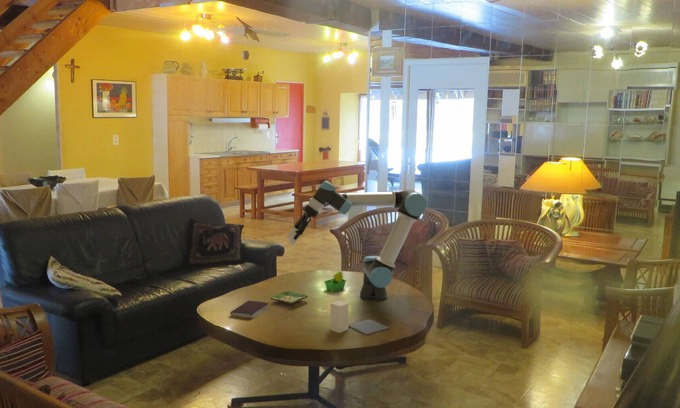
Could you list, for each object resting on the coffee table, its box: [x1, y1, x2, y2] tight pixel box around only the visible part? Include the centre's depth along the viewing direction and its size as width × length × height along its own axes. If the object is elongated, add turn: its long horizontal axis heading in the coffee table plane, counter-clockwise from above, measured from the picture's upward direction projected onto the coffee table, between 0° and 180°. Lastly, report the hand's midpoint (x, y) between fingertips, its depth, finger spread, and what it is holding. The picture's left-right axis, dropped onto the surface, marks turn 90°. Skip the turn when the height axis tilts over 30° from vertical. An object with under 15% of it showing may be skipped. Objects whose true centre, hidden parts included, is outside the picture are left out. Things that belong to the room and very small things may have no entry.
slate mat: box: [348, 318, 390, 336], centre depth 283 cm, size 14×14×1 cm
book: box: [229, 300, 270, 320], centre depth 304 cm, size 13×19×3 cm, turn 161°
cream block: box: [329, 300, 350, 334], centre depth 279 cm, size 6×6×13 cm
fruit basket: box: [324, 270, 347, 292], centre depth 342 cm, size 11×9×11 cm
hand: (289, 241), depth 305 cm, fingers open, 13 cm apart
